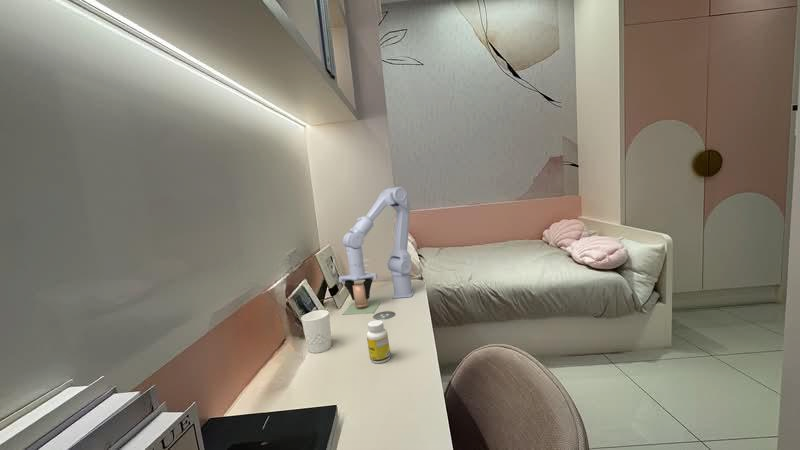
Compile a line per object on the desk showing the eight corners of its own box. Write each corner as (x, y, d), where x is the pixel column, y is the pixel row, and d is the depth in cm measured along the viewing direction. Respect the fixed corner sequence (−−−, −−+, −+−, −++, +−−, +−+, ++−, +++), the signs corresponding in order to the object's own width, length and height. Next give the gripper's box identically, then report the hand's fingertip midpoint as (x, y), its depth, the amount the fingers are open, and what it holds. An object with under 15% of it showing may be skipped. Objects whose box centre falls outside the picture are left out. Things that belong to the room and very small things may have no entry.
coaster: (375, 313, 127) (375, 311, 127) (397, 311, 126) (397, 310, 126) (370, 321, 119) (370, 320, 119) (393, 320, 118) (393, 319, 118)
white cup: (336, 340, 106) (332, 309, 105) (329, 353, 98) (323, 319, 97) (312, 342, 107) (307, 311, 106) (302, 355, 99) (296, 321, 98)
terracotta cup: (357, 303, 136) (354, 283, 135) (370, 302, 135) (367, 282, 134) (353, 307, 131) (350, 287, 130) (366, 306, 130) (363, 286, 129)
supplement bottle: (367, 357, 93) (362, 322, 92) (386, 351, 94) (382, 317, 93) (373, 366, 88) (368, 328, 87) (393, 360, 89) (388, 323, 88)
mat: (351, 303, 140) (351, 303, 140) (380, 301, 138) (380, 301, 138) (342, 315, 128) (342, 314, 128) (373, 313, 126) (373, 312, 126)
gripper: (334, 268, 129) (339, 303, 130) (372, 264, 126) (377, 301, 127) (340, 263, 135) (345, 297, 137) (376, 260, 133) (381, 294, 134)
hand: (360, 298), depth 133 cm, fingers closed on terracotta cup, 5 cm apart
